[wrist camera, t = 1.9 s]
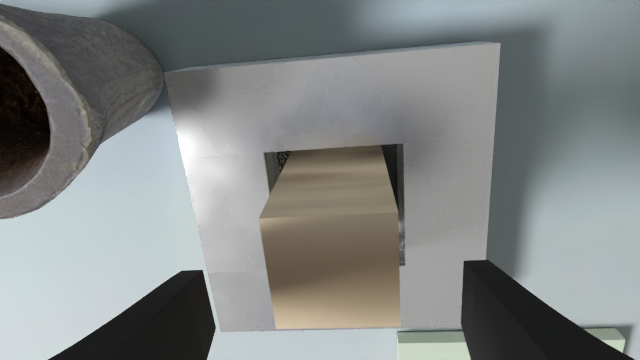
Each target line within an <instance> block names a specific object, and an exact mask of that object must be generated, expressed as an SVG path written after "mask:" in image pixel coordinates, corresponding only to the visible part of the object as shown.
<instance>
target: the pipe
mask: <svg viewBox="0 0 640 360" xmlns="http://www.w3.org/2000/svg"><path fill="white" fill-rule="evenodd" d="M164 81H165V80H164V75H163V72H162V69H161V67H160V65H159V63H158V62H157V60H156V59H155V57H154V55H153V54H152V53H151V52H150V51H149V49H148V48H147V47H146V46H145V45H144V44H143V43H142V42H141V41H140V40H139V39H138V38H136V37H135V36H134V35H132V34H130V33H129V32H127V31H125V30H123V29H122V28H120V27H118V26H116V25H114V24H111V23H109V22H106V21H102V20H98V19H93V18H87V17H75V16H68V15H61V14H51V13H42V12H36V11H31V10H26V9H21V8H17V7H12V6H7V5H3V4H0V219H8V218H14V217H17V216H21V215H24V214H27V213H30V212H32V211H35V210H37V209H40V208H41V207H43V206H44V205H45V204H47V203H48V202H50V201H51V200H53V199H54V198H55V197H56V196H57V195H58V194H60V193H61V192H62V191H63V190H64V189H65V188H66V187H67V186H69V185H70V183H71V182H72V181H73V180H74V179H75V178H76V177H77V175H78V174H79V173H80V172H81V171H82V170H83V169H84V168H85V166H86V165H87V163H88V162H89V160H90V159H91V157H92V156H93V154H94V153H95V151H96V150H97V148H98V146H99V145H100V144H101V143H102V142H104V141H105V140H107V139H108V138H110V137H112V136H113V135H115V134H116V133H118V132H120V131H121V130H123V129H124V128H126V127H127V126H129V125H131V124H132V123H134V122H136V121H137V120H139V119H141V118H142V117H143V116H144V115H146V114H147V113H148V112H149V111H150V109H151V108H152V107H153V105H154V104H155V102H156V101H157V99H158V98H159V96H160V94H161V91H162V89H163V85H164Z"/></svg>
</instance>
